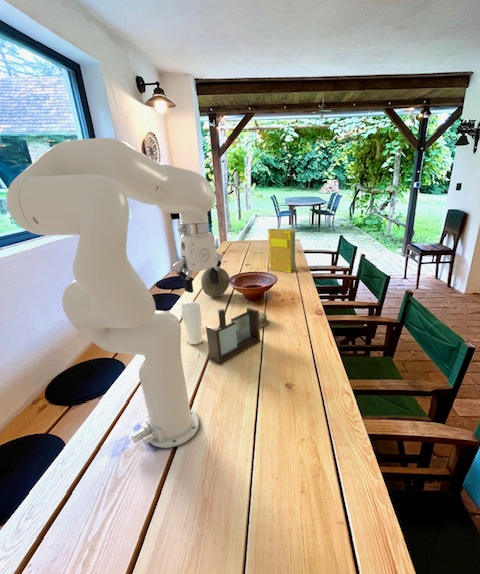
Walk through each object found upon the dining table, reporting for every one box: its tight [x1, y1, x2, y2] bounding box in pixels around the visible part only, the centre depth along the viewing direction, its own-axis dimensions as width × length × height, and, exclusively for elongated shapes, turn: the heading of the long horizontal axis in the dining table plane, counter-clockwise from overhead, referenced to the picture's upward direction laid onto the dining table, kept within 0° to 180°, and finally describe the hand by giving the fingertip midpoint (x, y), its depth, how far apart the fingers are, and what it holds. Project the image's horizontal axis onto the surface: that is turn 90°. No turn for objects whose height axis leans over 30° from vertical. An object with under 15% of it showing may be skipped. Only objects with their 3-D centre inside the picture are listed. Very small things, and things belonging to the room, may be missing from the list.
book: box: [267, 228, 296, 274], centre depth 202 cm, size 17×7×25 cm, turn 58°
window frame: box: [205, 307, 261, 365], centre depth 112 cm, size 20×5×12 cm, turn 139°
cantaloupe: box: [200, 267, 231, 298], centre depth 164 cm, size 14×14×15 cm
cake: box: [259, 311, 268, 328], centre depth 134 cm, size 10×10×5 cm
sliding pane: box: [218, 308, 237, 356], centre depth 107 cm, size 8×2×16 cm, turn 139°
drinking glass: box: [180, 301, 203, 345], centre depth 119 cm, size 7×7×15 cm
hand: (202, 287), depth 97 cm, fingers open, 9 cm apart
